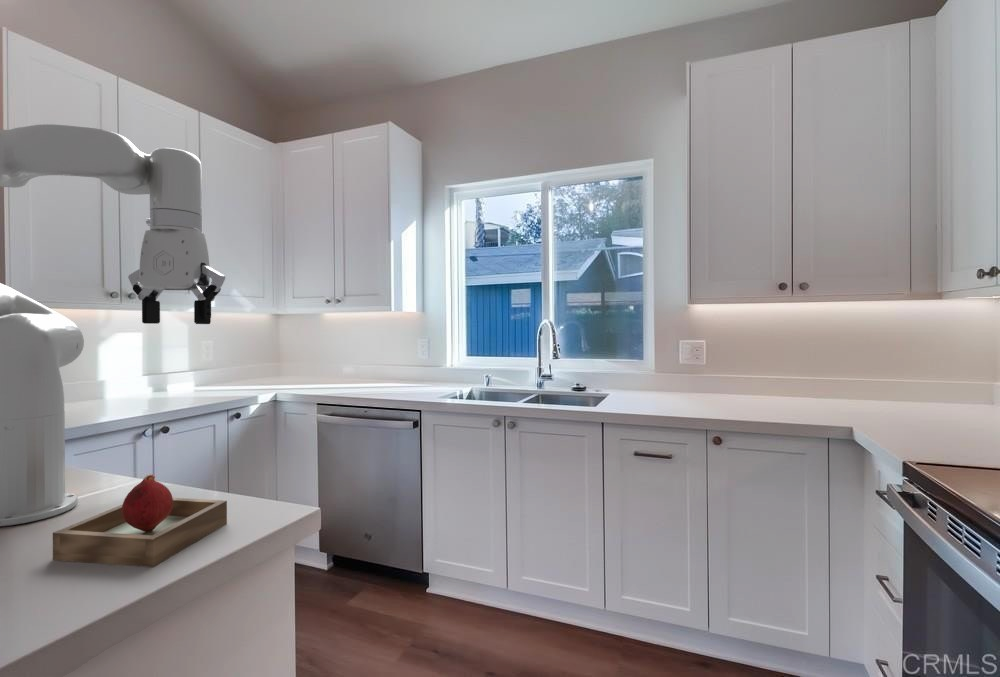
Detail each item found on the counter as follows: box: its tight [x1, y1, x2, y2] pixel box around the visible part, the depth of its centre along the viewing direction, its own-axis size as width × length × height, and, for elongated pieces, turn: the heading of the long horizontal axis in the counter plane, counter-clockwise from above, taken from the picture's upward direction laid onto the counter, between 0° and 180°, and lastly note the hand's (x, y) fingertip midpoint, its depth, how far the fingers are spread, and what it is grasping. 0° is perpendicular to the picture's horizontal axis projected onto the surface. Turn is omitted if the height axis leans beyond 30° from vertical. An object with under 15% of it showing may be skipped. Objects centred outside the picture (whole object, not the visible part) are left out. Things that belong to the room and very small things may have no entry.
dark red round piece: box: [121, 473, 174, 532], centre depth 70 cm, size 6×6×8 cm
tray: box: [52, 497, 228, 568], centre depth 70 cm, size 14×14×4 cm
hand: (176, 323), depth 87 cm, fingers open, 9 cm apart
